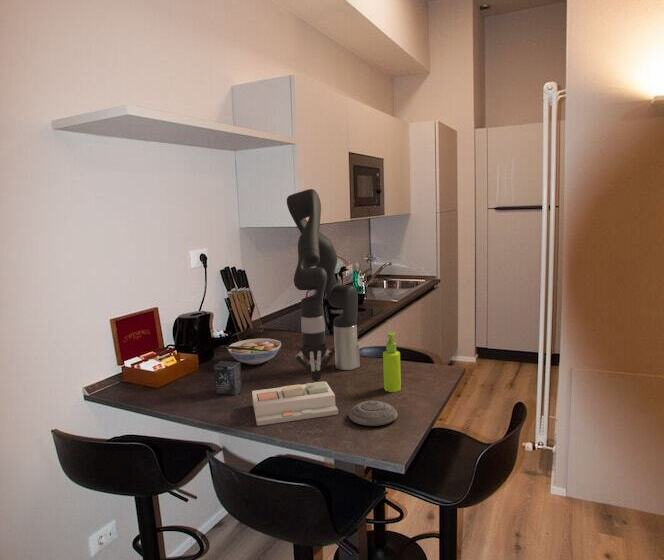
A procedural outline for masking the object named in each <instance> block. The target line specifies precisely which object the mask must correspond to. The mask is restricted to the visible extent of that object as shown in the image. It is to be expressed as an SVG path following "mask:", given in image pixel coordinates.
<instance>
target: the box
mask: <svg viewBox="0 0 664 560" xmlns="http://www.w3.org/2000/svg"><path fill="white" fill-rule="evenodd" d="M241 368H242V367H241V362H240V361H237V362H236V361H224V360H223V361H222V360H220V361H219V362H217V363H216V364H214V365H213V377H214V386H215V394H216V395H217V394H218V395H228V396H237V395H238V393H240V392H241V391H242V390H243V386H242V385H243V384H242V371H241Z"/></svg>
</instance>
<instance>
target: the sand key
mask: <svg viewBox="0 0 664 560" xmlns="http://www.w3.org/2000/svg"><path fill="white" fill-rule="evenodd" d="M301 385H302V384H300V383H299V384H293V385H291V384H290V385H283V386H281V387H282V395H283V398H288V397H296V396H303V389H302V387H301Z"/></svg>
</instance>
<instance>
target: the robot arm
mask: <svg viewBox="0 0 664 560" xmlns="http://www.w3.org/2000/svg"><path fill="white" fill-rule="evenodd" d="M321 203H322V202H321V199H320V196H319V194H318V192H317V191H316V190H315V189H313V188H310V189H306V190H301V191H299V192H295V193H292V194H290V195H288V196H287V197H286V206H287V209H288V212H289V214H290V216H291V218H292V219H293V222H294V223H295V225H296V227H297V229H298V231H299V232H300V236H299V238H298V241H297V257H298V258H297V260H298V261H297V266H296V269H295V272H294V275H293V284H294V287H295V288H296V289H297V290H298V291H315V290H316V291H315V293H313V294H312V295H309V296H307V297H303V298H302V299H301V300H300V309H301V310H300V311H301V312H300V314H301V315H300V316H301V321H300V324H301V325H300V327H301V344H302V346H301V348H300V351H299V353H297V354H295V357H294V358H295V359H296V360H297V361H298V363H300V365H302V367H304V369H305V370H307V371H310V378H311V380H312V381H313V383H314V382H320V380H321V370H322V369H325V368H326V367H327V366H328V364H329V362H330V361H331V360H332V358H333V357H335V358H334V361H335V362H334V363H335V368H336V369H338V370H342V371H343V370H344V371H349V370H351V371H352V370H355V369H357V368H360V367H361V365H360V364H361V361H360V358H361V357H360V345H359V343H358V325H357V323H358V322H357V321H358V315H359V314H358V313H359V311H358V310H359V309H358V307H359V295H358V290H357V288H356V287H355V286H354V285H351V284H350V285H348V284H340V283H339V282H338V280H337V278H336V274H335V271H336V269H337V264H338V255H337V252H336V249H335V246H334V245H333V242H332V241H331V240H330V238H328V237H327V236H326V235H324V234H323V233H322V232H320V227H321V226H320V225H321V216H322V204H321ZM307 218H308V219H307ZM324 294H325V295H326V298H327V301H328V303H329V304H330V306H331V307H333V308H336V309H342V314H341V315H339V316H335V317H334V318H333V321H332V322H333V338H334V339H333V341H334V352H333V351H332V350H330V349H328V347H327V344H326V325H325V318H324V296H325V295H324ZM324 355H325V356H324ZM304 357H305V358H306V359H307V360H308V362H309V363H307V362H306V361H305V360H304ZM323 357H324V358H323Z"/></svg>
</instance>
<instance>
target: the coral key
mask: <svg viewBox="0 0 664 560" xmlns="http://www.w3.org/2000/svg"><path fill="white" fill-rule="evenodd" d="M273 399H278V396H277V393H276V392H271V393H263V394H258V401H265V400H273Z"/></svg>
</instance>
